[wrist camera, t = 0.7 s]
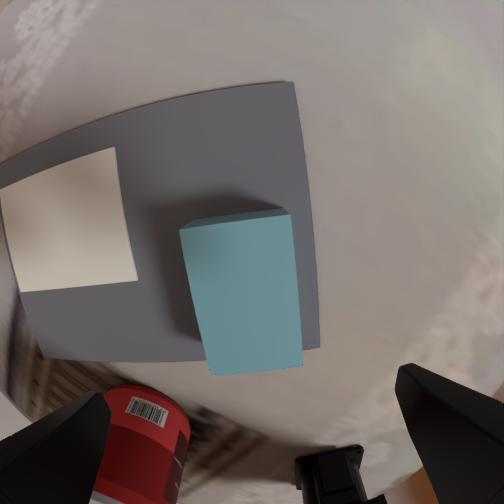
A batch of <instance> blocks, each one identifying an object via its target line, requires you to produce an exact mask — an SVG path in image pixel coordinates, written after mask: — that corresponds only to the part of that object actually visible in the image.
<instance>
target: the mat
mask: <svg viewBox="0 0 504 504" xmlns="http://www.w3.org/2000/svg"><path fill="white" fill-rule="evenodd" d="M277 208H284V209H285V210H286V211H288V212H289V213H290V214H291V223H292V232H293V242H294V252H295V262H296V273H297V284H298V296H299V309H300V322H301V336H302V350H306V349H313V348H319V347H320V325H319V303H318V285H317V270H316V256H315V243H314V232H313V221H312V211H311V201H310V192H309V183H308V175H307V167H306V159H305V152H304V144H303V137H302V130H301V124H300V117H299V111H298V105H297V99H296V93H295V87H294V82H279V83H268V84H258V85H249V86H241V87H234V88H227V89H221V90H215V91H209V92H203V93H198V94H193V95H188V96H183V97H179V98H174V99H170V100H166V101H161V102H157V103H154V104H150V105H146V106H142V107H139V108H135V109H132V110H128V111H125V112H122V113H119V114H115V115H112V116H109V117H106V118H103V119H100V120H97V121H95V122H92V123H89V124H86V125H84V126H81V127H78V128H76V129H73V130H71V131H68V132H66V133H63V134H61V135H58V136H56V137H54V138H51V139H49V140H47V141H45V142H42V143H40V144H38V145H36V146H34V147H32V148H30V149H28V150H26V151H24V152H22V153H20V154H18V155H16V156H14V157H12V158H10V159H8V160H6V161H4V162H3V163H1V164H0V213H1V220H2V225H3V231H4V236H5V241H6V246H7V250H8V254H9V259H10V263H11V266H12V270H13V274H14V277H15V281H16V284H17V288H18V291H19V294H20V297H21V300H22V303H23V306H24V309H25V312H26V315H27V318H28V320H29V323H30V325H31V328H32V331H33V333H34V336H35V338H36V340H37V343H38V345H39V347H40V350H41V352H42V354H43V356H44V358H52V359H64V360H78V361H97V362H181V361H202V360H207V358H206V354H205V350H204V346H203V342H202V338H201V334H200V330H199V326H198V321H197V317H196V313H195V308H194V304H193V299H192V294H191V290H190V285H189V280H188V275H187V270H186V265H185V260H184V255H183V250H182V244H181V239H180V233H179V229H180V228H182V227H183V226H185V225H186V224H187V223H189V222H190V221H192V220H196V219H203V218H210V217H217V216H224V215H231V214H239V213H246V212H254V211H261V210H269V209H277Z"/></svg>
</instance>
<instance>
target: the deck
mask: <svg viewBox="0 0 504 504" xmlns="http://www.w3.org/2000/svg"><path fill="white" fill-rule="evenodd" d="M179 233H180V239H181V244H182V250H183V255H184V260H185V265H186V270H187V275H188V280H189V285H190V290H191V294H192V299H193V304H194V308H195V313H196V317H197V321H198V326H199V330H200V334H201V338H202V342H203V346H204V350H205V354H206V358H207V362H208V366H209V370H210V374H211V375H223V374H237V373H248V372H258V371H267V370H276V369H284V368H291V367H298V366H303V352H302V336H301V322H300V309H299V296H298V284H297V273H296V262H295V252H294V242H293V232H292V223H291V214H290V213H289V212H288V211H286V210H285V209H284V208H277V209H269V210H261V211H254V212H246V213H239V214H231V215H224V216H217V217H210V218H203V219H196V220H192V221H190V222H189V223H187V224H186V225H185V226H183V227H182V228H180V229H179Z"/></svg>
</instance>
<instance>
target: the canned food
mask: <svg viewBox="0 0 504 504" xmlns="http://www.w3.org/2000/svg"><path fill="white" fill-rule="evenodd" d="M103 396H104V398H105V400H106V402H107V404H108V406H109V407H110V409H111V413H112V418H111V422H110V427H109V431H108V436H107V441H106V446H105V450H104V455H103V458H102V462H101V465H100V468H99V471H98V475H97V478H96V481H95V485H94V488H93V492H92V495H91V499H90V503H89V504H176V502H177V497H178V492H179V487H180V482H181V477H182V472H183V468H184V463H185V458H186V453H187V449H188V444H189V439H190V435H191V431H190V424H189V420H188V417H187V415H186V413H185V412H184V410H183V409H182V408H181V407H180V406H179V405H178V404H177V403H176V402H174V401H173V400H172V399H171V398H169V397H167V396H166V395H164V394H162V393H160V392H158V391H156V390H153V389H150V388H147V387H144V386H139V385H131V384H126V385H119V386H116V387H114V388H112V389H111V390H109V391H108V392H106V393H105V394H104V395H103Z"/></svg>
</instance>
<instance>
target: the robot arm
mask: <svg viewBox="0 0 504 504" xmlns="http://www.w3.org/2000/svg"><path fill="white" fill-rule="evenodd" d="M395 393H396V397H397V399H398V402H399V405H400V408H401V411H402V414H403V417H404V420H405V423H406V426H407V429H408V432H409V435H410V437H411V439H412V441H413V444H414V446H415V448H416V450H417V452H418V455H419V457H420V459H421V461H422V464H423V466H424V468H425V470H426V473H427V475H428V477H429V480H430V482H431V484H432V487H433V489H434V491H435V494H436V497H437V499H438V502H439V504H504V403H503V404H502V402H501V401H498V400H496V399H494V398H491V397H489V396H486V395H484V394H482V393H479V392H477V391H475V390H472V389H470V388H468V387H465V386H463V385H461V384H458V383H456V382H454V381H452V380H449V379H447V378H445V377H442V376H440V375H438V374H436V373H434V372H431V371H429V370H427V369H425V368H422V367H420V366H418V365H416V364H413V363H409V364H405V365H402V366H400V367H399V369H398V373H397V379H396V384H395ZM111 418H112V413H111V409H110V407H109V406H108V404H107V402H106V400H105V398H104V396H103V394H102V393H101V392H97V391H88V392H87V393H85V394H83V395H82V396H80V397H78V398H76V399H75V400H73V401H71V402H70V403H68V404H66V405H64V406H63V407H61V408H59V409H57V410H56V411H54V412H52V413H50V414H49V415H47V416H45V417H43V418H42V419H40V420H38V421H36V422H34V423H33V424H31V425H29V426H27V427H26V428H24V429H22V430H20V431H18V432H16V433H15V434H13V435H12V436H9V437H7V438H5V439H3V440H1V441H0V504H89V503H90V499H91V495H92V492H93V488H94V485H95V481H96V478H97V475H98V471H99V468H100V465H101V462H102V458H103V455H104V450H105V446H106V441H107V436H108V431H109V427H110V422H111ZM363 452H364V449H363V447H362V446H357V447H353V448H349V449H344V450H339V451H335V452H330V453H324V454H319V455H313V456H307V457H300V458H297V459H295V476H296V489H297V490H302V496H303V504H387V501H386V499H385V496H384V494H381V495H378V497H375V498H373V499H370V500H368V498H367V495H366V492H365V489H364V485H363V482H362V479H361V476H360V472H359V469H360V465H361V461H362V457H363Z"/></svg>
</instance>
